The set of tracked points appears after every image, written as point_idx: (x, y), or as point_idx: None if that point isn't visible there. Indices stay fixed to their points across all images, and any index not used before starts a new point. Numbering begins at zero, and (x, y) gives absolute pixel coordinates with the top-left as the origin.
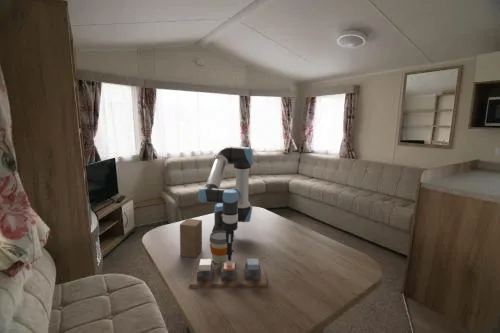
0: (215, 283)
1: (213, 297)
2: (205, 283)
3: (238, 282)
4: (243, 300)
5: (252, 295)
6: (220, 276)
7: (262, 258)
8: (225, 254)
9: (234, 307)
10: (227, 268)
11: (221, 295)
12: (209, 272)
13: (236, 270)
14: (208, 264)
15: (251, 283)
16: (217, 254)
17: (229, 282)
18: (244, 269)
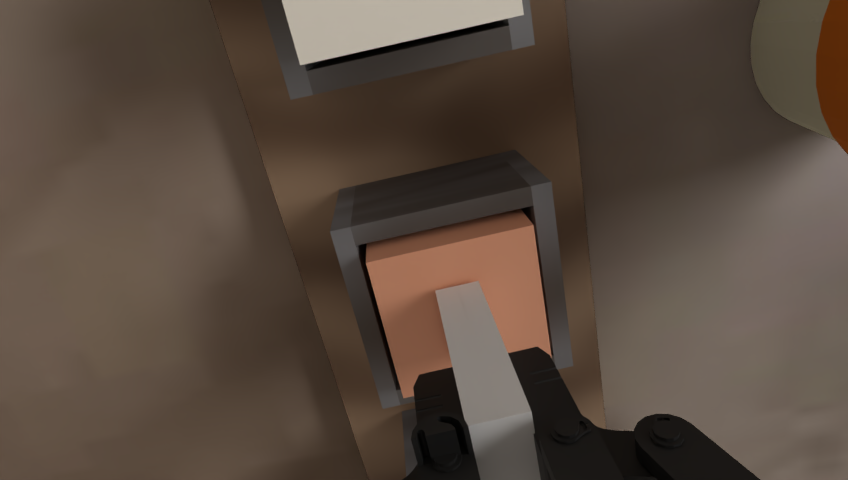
0: (267, 137)
1: (90, 164)
2: (229, 8)
3: (352, 362)
4: (162, 423)
5: (250, 470)
6: (418, 156)
7: (812, 454)
8: (840, 141)
9: (45, 379)
10: (381, 313)
11: (153, 233)
12: (277, 49)
13: (401, 401)
14: (299, 15)
15: (367, 464)
16: (838, 17)
17: (329, 282)
18: (586, 368)
